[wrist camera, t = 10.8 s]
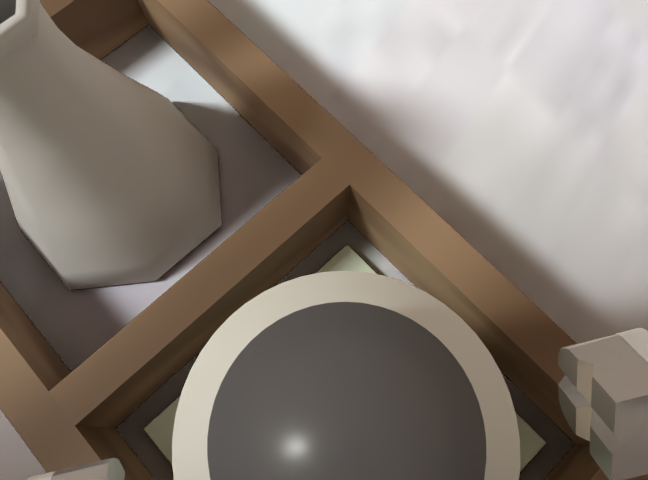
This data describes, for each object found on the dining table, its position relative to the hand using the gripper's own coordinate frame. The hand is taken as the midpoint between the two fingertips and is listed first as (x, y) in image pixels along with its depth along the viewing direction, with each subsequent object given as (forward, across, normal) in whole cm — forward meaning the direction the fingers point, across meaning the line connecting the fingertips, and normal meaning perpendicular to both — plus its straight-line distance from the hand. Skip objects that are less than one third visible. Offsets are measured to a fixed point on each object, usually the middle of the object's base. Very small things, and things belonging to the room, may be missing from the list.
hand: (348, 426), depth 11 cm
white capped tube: (+5, 0, +6) cm, 8 cm away
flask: (+13, +6, -1) cm, 14 cm away
